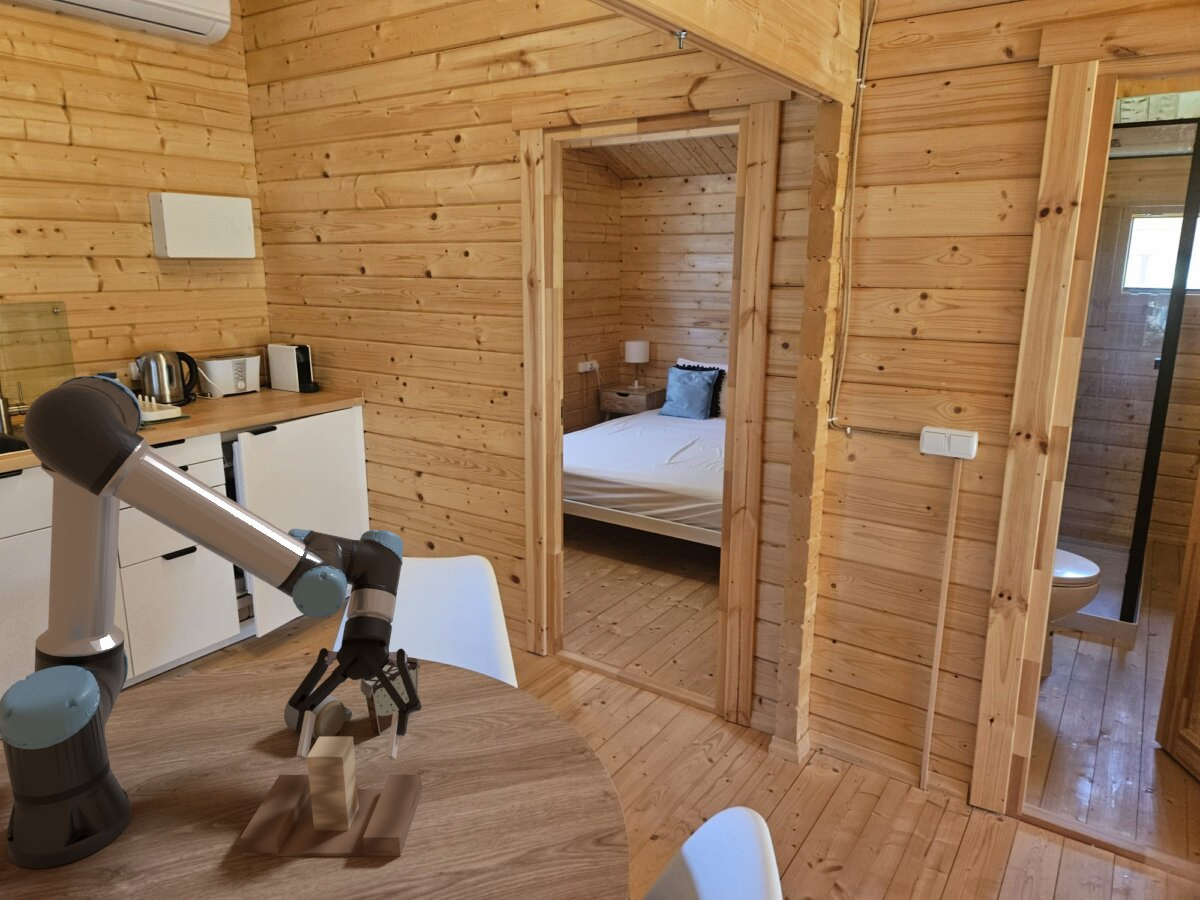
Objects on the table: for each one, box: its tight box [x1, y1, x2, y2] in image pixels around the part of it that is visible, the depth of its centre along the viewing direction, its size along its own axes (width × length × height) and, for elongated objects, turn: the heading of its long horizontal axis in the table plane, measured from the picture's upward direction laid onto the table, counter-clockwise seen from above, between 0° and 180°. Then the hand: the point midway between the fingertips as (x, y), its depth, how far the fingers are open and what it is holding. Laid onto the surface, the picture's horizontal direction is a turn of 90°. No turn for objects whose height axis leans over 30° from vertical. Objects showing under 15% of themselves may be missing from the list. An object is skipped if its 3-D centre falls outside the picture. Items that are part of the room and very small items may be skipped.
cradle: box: [240, 774, 423, 857], centre depth 119 cm, size 22×14×3 cm, turn 90°
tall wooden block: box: [306, 736, 359, 830], centre depth 118 cm, size 5×5×12 cm
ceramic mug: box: [283, 687, 353, 740], centre depth 142 cm, size 11×8×8 cm
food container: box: [359, 656, 421, 736], centre depth 145 cm, size 12×6×10 cm, turn 149°
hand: (346, 757), depth 122 cm, fingers open, 13 cm apart
